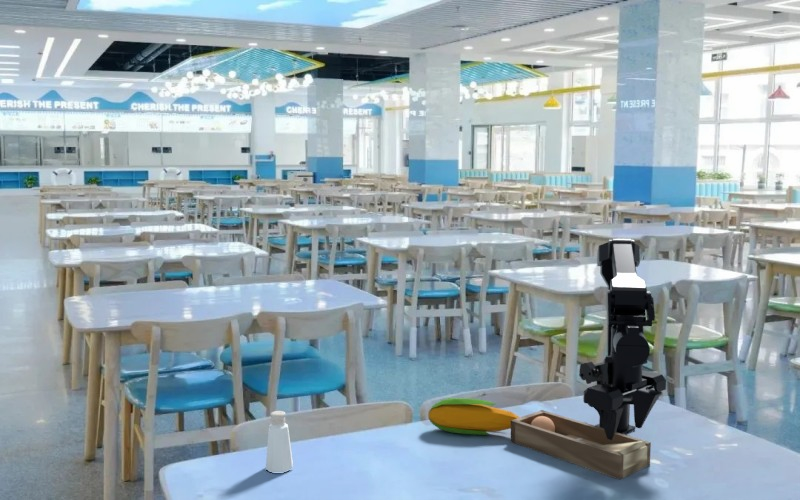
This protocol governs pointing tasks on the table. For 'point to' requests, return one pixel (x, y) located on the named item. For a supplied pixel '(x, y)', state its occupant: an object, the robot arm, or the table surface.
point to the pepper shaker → (278, 444)
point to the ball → (544, 423)
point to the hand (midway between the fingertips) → (624, 433)
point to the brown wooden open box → (583, 444)
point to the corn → (469, 416)
